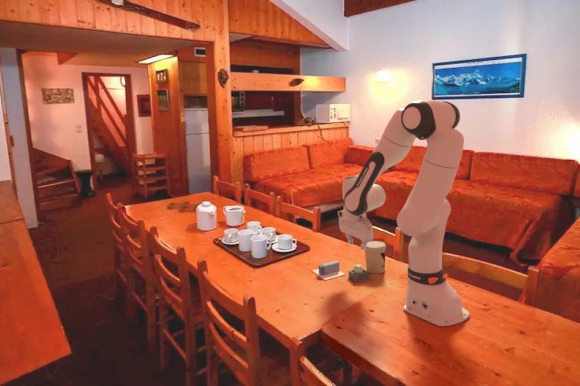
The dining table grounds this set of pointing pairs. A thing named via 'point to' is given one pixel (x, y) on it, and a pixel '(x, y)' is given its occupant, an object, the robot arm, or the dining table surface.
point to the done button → (358, 269)
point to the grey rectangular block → (329, 267)
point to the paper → (329, 276)
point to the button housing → (358, 276)
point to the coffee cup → (375, 256)
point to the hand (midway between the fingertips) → (356, 246)
